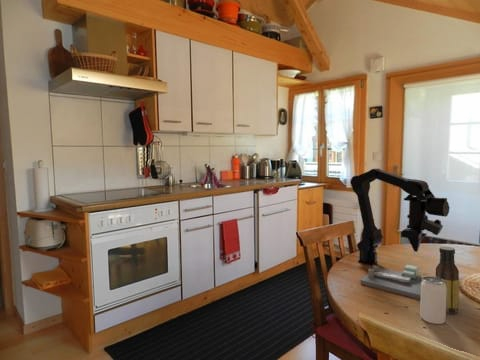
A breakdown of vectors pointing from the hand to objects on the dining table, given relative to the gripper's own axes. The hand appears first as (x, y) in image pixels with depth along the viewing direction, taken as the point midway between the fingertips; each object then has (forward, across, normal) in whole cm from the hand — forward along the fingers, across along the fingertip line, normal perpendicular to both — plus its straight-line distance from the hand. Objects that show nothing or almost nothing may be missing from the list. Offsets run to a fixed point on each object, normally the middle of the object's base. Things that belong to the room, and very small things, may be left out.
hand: (415, 251), depth 127 cm
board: (+10, -13, +2) cm, 16 cm away
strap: (+8, -14, +5) cm, 17 cm away
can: (+10, -33, -14) cm, 37 cm away
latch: (+8, -8, 0) cm, 11 cm away
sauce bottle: (+10, -24, -15) cm, 30 cm away
